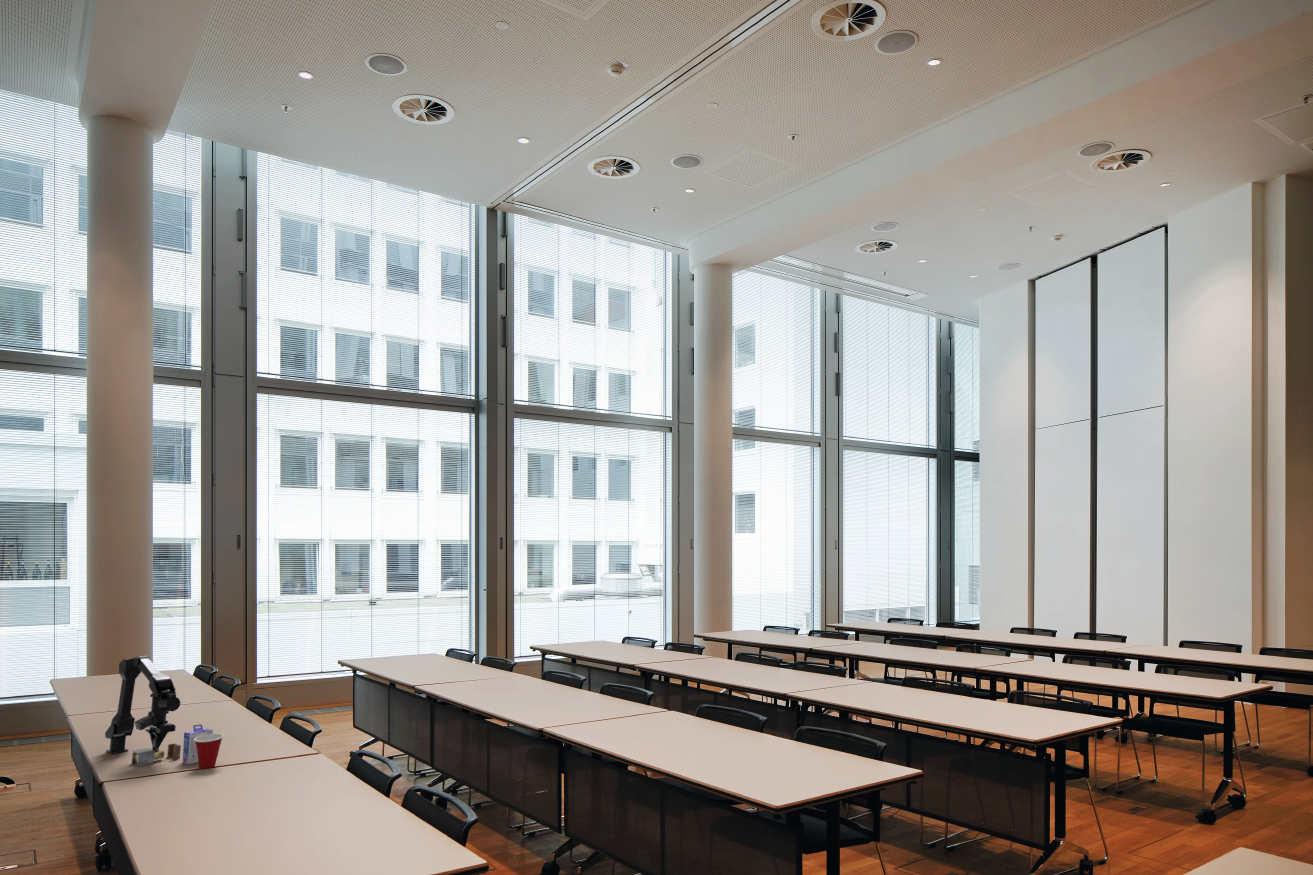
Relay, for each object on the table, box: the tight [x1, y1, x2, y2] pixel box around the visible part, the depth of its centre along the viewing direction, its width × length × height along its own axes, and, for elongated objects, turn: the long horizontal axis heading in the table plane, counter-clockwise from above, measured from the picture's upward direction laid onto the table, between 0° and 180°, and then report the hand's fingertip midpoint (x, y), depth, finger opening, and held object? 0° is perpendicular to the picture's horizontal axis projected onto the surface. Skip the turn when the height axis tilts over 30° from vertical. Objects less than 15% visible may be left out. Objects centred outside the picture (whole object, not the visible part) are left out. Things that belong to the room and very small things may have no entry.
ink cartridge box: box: [182, 723, 214, 765], centre depth 350 cm, size 10×6×14 cm, turn 145°
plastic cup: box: [194, 732, 224, 769], centre depth 342 cm, size 11×11×12 cm
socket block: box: [166, 742, 182, 760], centre depth 355 cm, size 2×6×5 cm, turn 55°
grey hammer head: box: [130, 747, 155, 767], centre depth 345 cm, size 6×6×5 cm
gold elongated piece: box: [134, 738, 165, 763], centre depth 347 cm, size 10×4×8 cm, turn 145°
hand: (155, 747), depth 349 cm, fingers closed on gold elongated piece, 2 cm apart
